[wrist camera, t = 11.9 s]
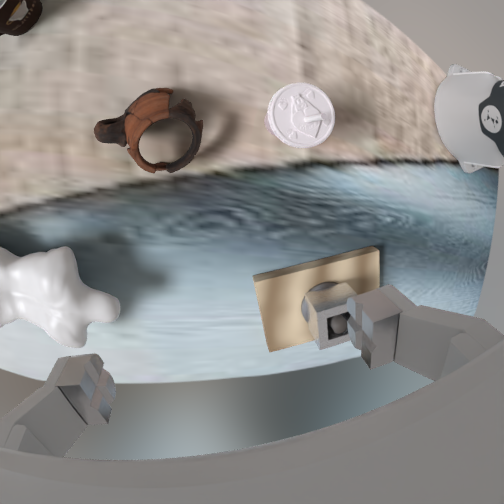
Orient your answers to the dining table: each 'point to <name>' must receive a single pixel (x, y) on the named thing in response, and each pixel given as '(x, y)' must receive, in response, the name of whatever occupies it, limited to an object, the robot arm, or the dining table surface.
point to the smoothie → (300, 115)
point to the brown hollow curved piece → (141, 117)
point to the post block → (306, 280)
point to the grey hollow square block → (328, 313)
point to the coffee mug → (18, 16)
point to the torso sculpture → (52, 295)
